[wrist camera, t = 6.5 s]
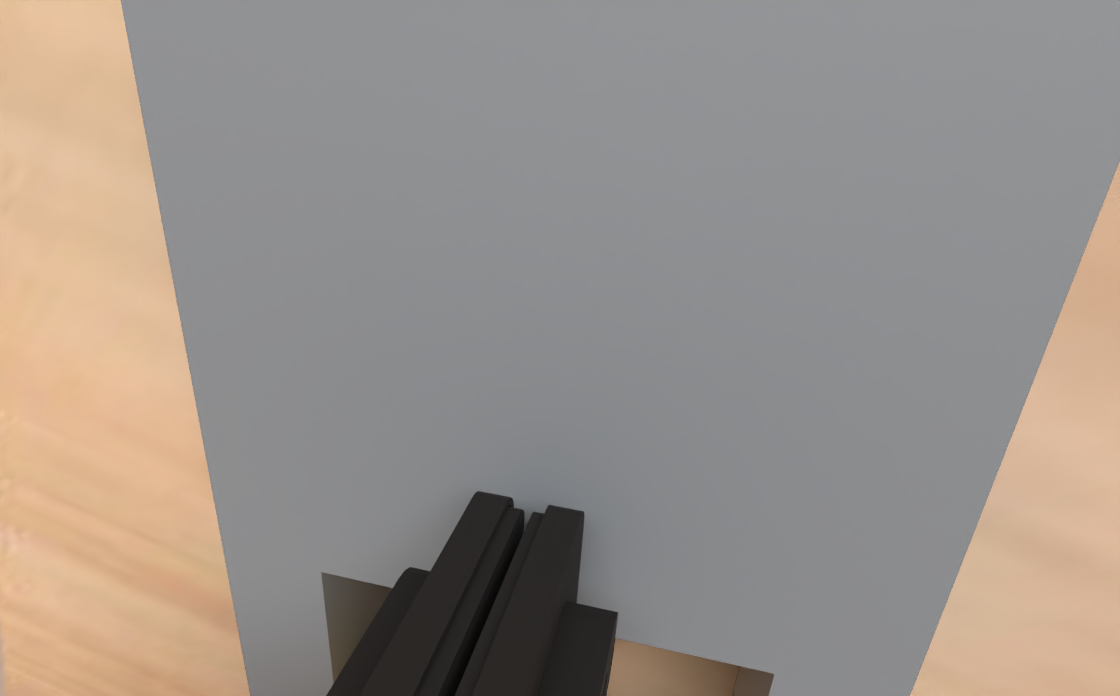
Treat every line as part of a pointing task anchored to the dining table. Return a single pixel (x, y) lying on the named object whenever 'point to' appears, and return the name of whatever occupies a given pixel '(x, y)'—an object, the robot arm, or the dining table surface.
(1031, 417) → the dining table surface
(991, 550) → the dining table surface
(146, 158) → the dining table surface
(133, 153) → the dining table surface
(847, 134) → the board
